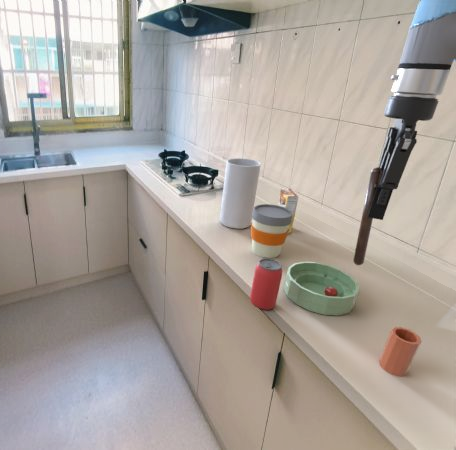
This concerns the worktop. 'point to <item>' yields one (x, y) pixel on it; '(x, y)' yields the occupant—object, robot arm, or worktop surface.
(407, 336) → the crock
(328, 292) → the bead
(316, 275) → the bowl
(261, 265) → the beer can
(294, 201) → the candy box
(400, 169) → the robot arm
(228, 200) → the cylinder vase
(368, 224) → the stirring stick
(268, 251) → the reusable coffee cup
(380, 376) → the worktop surface
